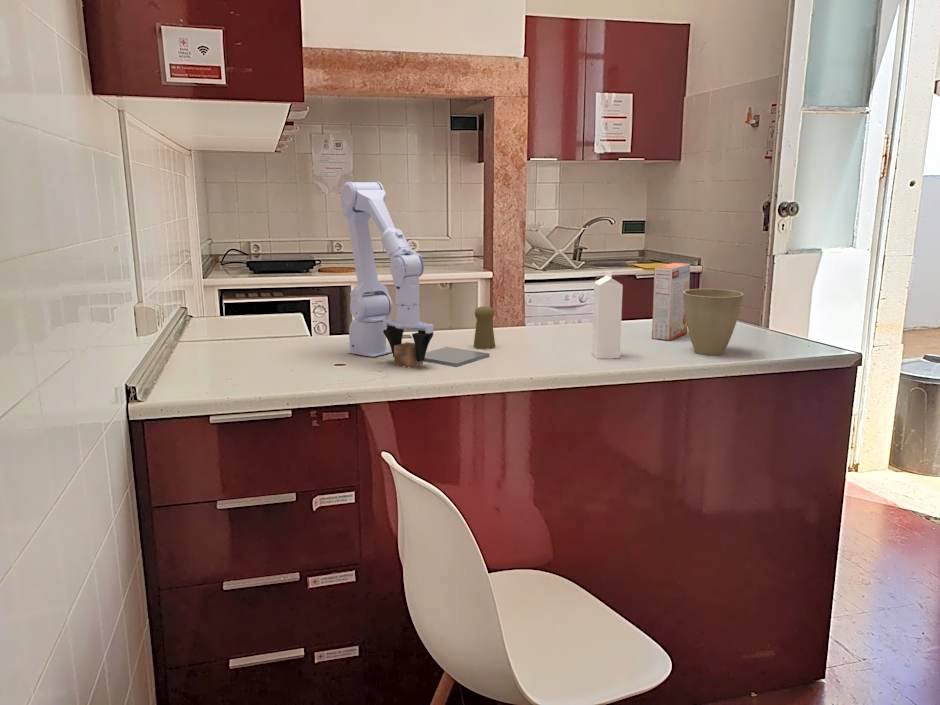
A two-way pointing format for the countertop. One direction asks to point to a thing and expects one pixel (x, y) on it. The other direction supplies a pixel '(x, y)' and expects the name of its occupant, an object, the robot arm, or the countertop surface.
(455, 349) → the slate board
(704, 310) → the plant pot
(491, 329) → the cork
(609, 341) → the milk
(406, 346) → the walnut cube
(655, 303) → the cracker box
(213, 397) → the countertop surface
